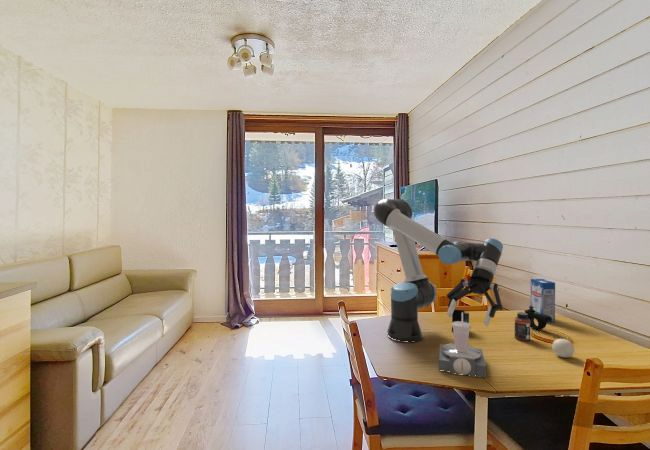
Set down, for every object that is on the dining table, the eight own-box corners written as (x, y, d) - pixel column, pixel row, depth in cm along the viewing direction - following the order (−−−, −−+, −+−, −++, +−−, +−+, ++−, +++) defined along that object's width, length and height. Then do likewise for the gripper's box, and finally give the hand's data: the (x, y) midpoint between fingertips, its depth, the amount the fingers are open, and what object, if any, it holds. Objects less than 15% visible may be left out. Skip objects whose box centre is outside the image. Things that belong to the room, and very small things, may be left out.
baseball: (577, 357, 126) (578, 340, 126) (569, 362, 122) (569, 344, 122) (557, 351, 132) (558, 334, 132) (549, 355, 128) (549, 338, 128)
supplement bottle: (532, 342, 141) (532, 315, 141) (517, 341, 143) (517, 315, 142) (527, 336, 147) (527, 311, 147) (512, 336, 149) (512, 311, 148)
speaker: (463, 334, 151) (463, 311, 152) (451, 331, 155) (451, 309, 156) (471, 331, 156) (471, 309, 156) (459, 329, 160) (459, 307, 161)
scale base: (438, 372, 116) (438, 355, 116) (440, 353, 131) (439, 339, 131) (486, 379, 111) (486, 361, 110) (481, 359, 126) (481, 343, 125)
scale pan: (442, 357, 117) (442, 354, 117) (442, 343, 129) (442, 341, 129) (482, 362, 113) (482, 360, 113) (479, 348, 125) (479, 345, 125)
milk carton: (554, 322, 166) (555, 282, 165) (542, 322, 166) (542, 282, 165) (542, 316, 176) (542, 278, 175) (530, 316, 176) (530, 278, 175)
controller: (529, 325, 162) (529, 304, 162) (553, 333, 151) (553, 311, 150) (522, 326, 161) (522, 305, 161) (546, 334, 149) (546, 312, 149)
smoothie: (462, 355, 117) (462, 315, 116) (447, 348, 122) (447, 311, 122) (474, 351, 120) (474, 313, 119) (459, 345, 125) (459, 308, 125)
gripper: (520, 283, 124) (506, 333, 114) (456, 274, 142) (438, 317, 132) (516, 271, 120) (500, 322, 110) (450, 263, 138) (431, 307, 129)
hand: (466, 319), depth 121 cm, fingers open, 13 cm apart
